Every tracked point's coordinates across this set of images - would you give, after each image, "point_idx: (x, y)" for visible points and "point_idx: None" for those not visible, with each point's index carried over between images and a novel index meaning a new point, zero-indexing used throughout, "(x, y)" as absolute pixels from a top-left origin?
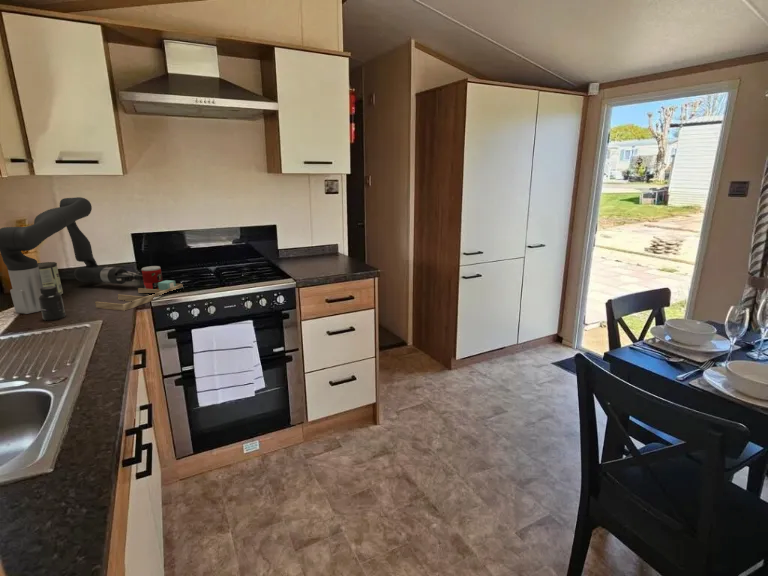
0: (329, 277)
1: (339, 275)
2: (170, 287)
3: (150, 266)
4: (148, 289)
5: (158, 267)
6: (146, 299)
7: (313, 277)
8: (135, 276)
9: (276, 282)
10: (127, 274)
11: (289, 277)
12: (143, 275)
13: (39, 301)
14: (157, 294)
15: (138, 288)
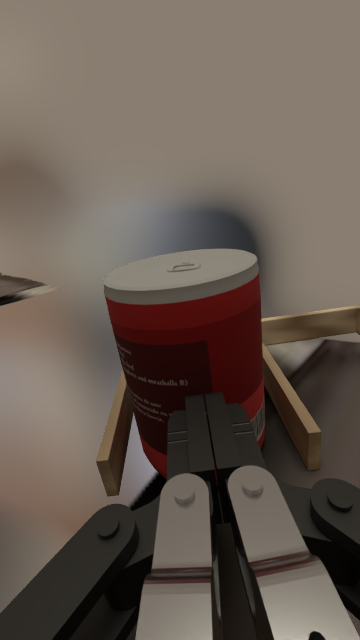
0: (23, 278)
1: (11, 278)
2: None
3: (124, 286)
4: (279, 370)
5: (140, 266)
6: (354, 316)
7: (17, 284)
8: (255, 462)
9: (50, 291)
10: (352, 631)
11: (4, 296)
12: (260, 316)
13: None
14: (290, 321)
15: (317, 427)
